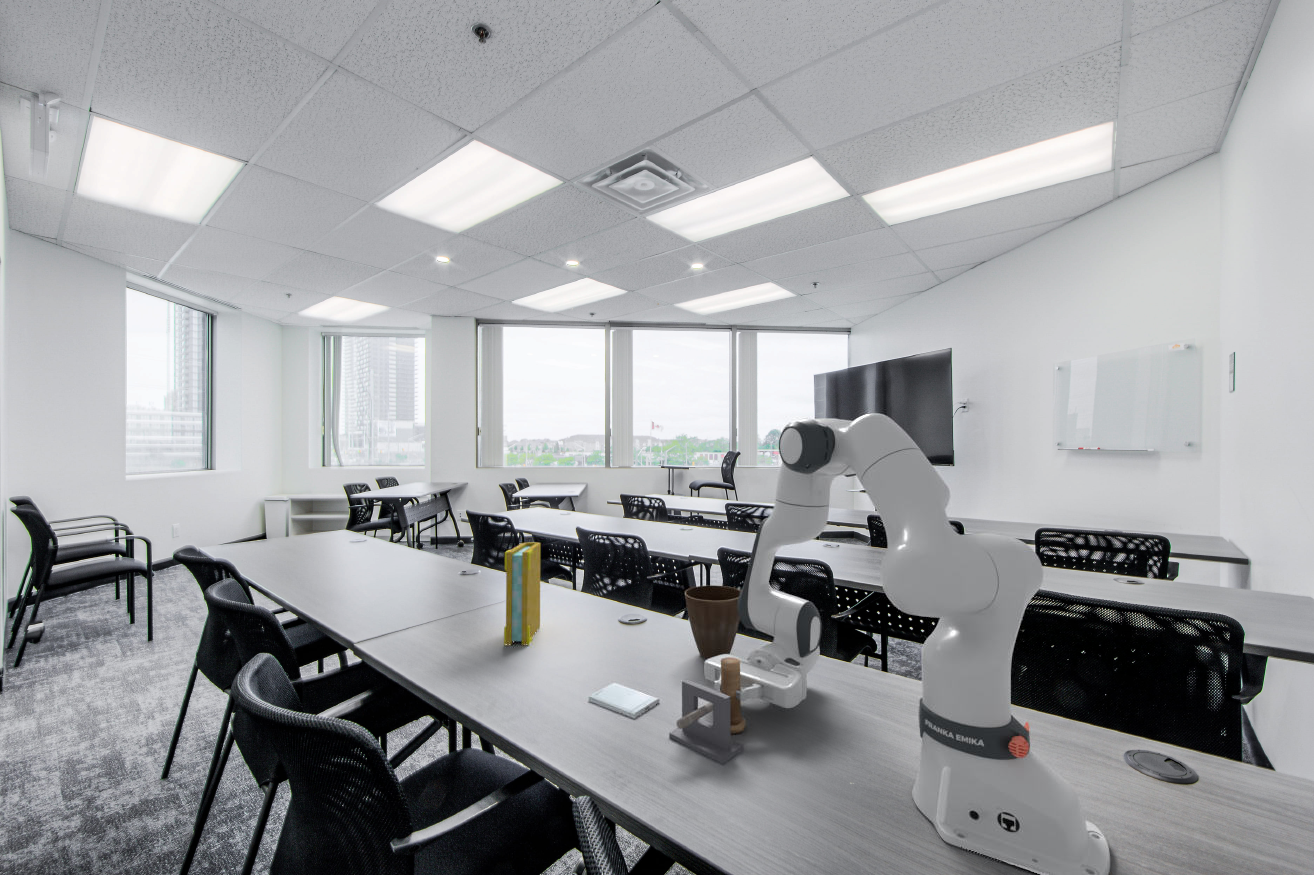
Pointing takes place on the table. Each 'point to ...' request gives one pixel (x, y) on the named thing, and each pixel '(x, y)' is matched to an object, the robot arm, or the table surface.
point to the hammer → (728, 687)
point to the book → (522, 593)
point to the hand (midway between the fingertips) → (728, 691)
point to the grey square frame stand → (707, 724)
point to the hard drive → (623, 700)
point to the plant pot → (713, 618)
